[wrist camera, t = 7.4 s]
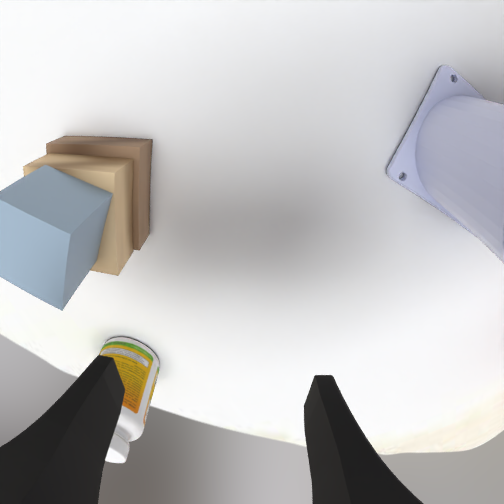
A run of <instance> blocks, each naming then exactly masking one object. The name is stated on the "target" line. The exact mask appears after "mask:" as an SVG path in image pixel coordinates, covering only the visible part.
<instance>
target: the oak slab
mask: <svg viewBox="0 0 504 504" xmlns="http://www.w3.org/2000/svg"><path fill="white" fill-rule="evenodd" d="M44 165H47V166H50V167H52V168H54V169H57V170H59V171H61V172H64V173H66V174H68V175H71V176H73V177H76V178H78V179H80V180H83V181H85V182H87V183H90V184H92V185H94V186H97V187H99V188H101V189H104V190H106V191H108V192H111V193H113V195H112V199H111V202H110V206H109V210H108V214H107V218H106V222H105V226H104V230H103V234H102V238H101V243H100V247H99V252H98V256H97V261H96V263H95V264H94V265H93V267H92V268H91V269H90V270H91V271H96V272H101V273H107V274H112V275H117V276H118V275H119V274H120V272H121V271H122V269H123V267H124V266H125V264H126V262H127V261H128V259H129V258H130V256H131V254H132V253H133V169H134V159H130V158H119V157H106V156H92V155H75V154H54V153H49V154H47V155H45V156H43V157H41V158H39V159H37V160H35V161H33V162H31V163H29V164H27V165H25V166H23V170H24V177H25V176H26V175H28V174H30V173H31V172H33V171H35V170H37V169H38V168H40V167H42V166H44Z"/></svg>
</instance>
